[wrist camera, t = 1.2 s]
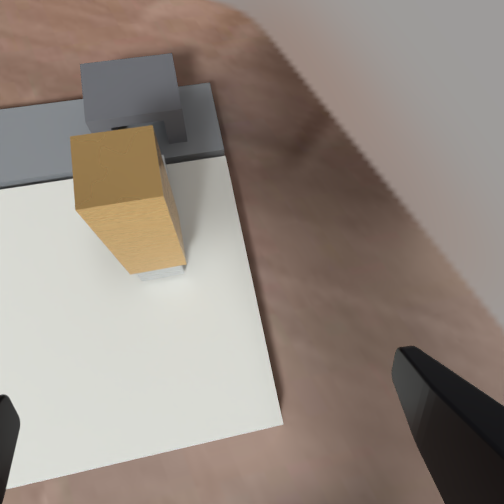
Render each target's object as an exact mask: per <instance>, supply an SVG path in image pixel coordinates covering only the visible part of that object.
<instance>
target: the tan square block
mask: <svg viewBox="0 0 504 504" xmlns="http://www.w3.org/2000/svg"><path fill="white" fill-rule="evenodd" d="M70 145H71V158H72V172H73V185H74V199H75V210H76V211H77V213H78V214H79V215H80V216H81V217H82V219H83V220H84V221H85V222H86V223H87V224H88V226H89V227H90V228H91V229H92V230H93V231H94V233H95V234H96V235H97V236H98V237H99V238H100V240H101V241H102V242H103V243H104V244H105V246H106V247H107V248H108V249H109V250H110V251H111V253H112V254H113V255H114V256H115V257H116V258H117V260H118V261H119V262H120V263H121V264H122V265H123V267H124V268H125V269H126V270H127V271H128V272H129V274H130V275H131V274H137V275H138V277H139V278H140V279H141V280H142V281H147V280H153V279H158V278H164V277H169V276H175V275H180V274H184V268H183V265H187V263H186V257H185V251H184V245H183V239H182V233H181V226H180V220H179V214H178V211H177V207H176V204H175V200H174V197H173V194H172V190H171V187H170V181H169V175H168V169H167V165H166V162H165V158H164V155H161V152H160V149H159V145H158V142H157V138H156V135H155V131H154V128H153V125H149V126H142V127H135V128H127V129H120V130H113V131H106V132H98V133H91V134H84V135H77V136H70Z"/></svg>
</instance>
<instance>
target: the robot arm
mask: <svg viewBox="0 0 504 504" xmlns="http://www.w3.org/2000/svg"><path fill="white" fill-rule="evenodd" d="M392 380H393V383H394V386H395V388H396V391H397V394H398V397H399V399H400V402H401V405H402V408H403V410H404V413H405V416H406V419H407V421H408V424H409V427H410V430H411V432H412V435H413V438H414V440H415V442H416V445H417V447H418V449H419V451H420V453H421V455H422V457H423V459H424V461H425V464H426V466H427V468H428V470H429V472H430V474H431V476H432V478H433V480H434V482H435V484H436V486H437V488H438V490H439V492H440V494H441V497H442V499H443V501H444V503H445V504H504V406H503V405H501V404H500V403H498V402H497V401H495V400H494V399H492V398H491V397H490V396H488V395H487V394H485V393H484V392H482V391H481V390H479V389H478V388H476V387H475V386H473V385H472V384H470V383H469V382H467V381H466V380H464V379H463V378H461V377H460V376H458V375H457V374H456V373H454V372H453V371H451V370H450V369H448V368H447V367H445V366H444V365H442V364H441V363H439V362H438V361H436V360H435V359H433V358H432V357H430V356H429V355H427V354H426V353H424V352H423V351H422V350H420V349H419V348H417V347H415V346H406V347H399V348H397V350H396V352H395V357H394V362H393V367H392ZM19 430H20V418H19V415H18V413H17V411H16V409H15V407H14V406H13V404H12V402H11V400H10V398H9V396H7V395H6V394H1V395H0V504H2V502H3V498H4V495H5V491H6V487H7V483H8V478H9V474H10V470H11V465H12V461H13V456H14V452H15V448H16V443H17V439H18V435H19Z"/></svg>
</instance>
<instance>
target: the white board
mask: <svg viewBox="0 0 504 504" xmlns="http://www.w3.org/2000/svg"><path fill="white" fill-rule="evenodd" d="M80 69H81V81H82V92H83V99H78V100H71V101H63V102H55V103H47V104H39V105H32V106H24V107H16V108H8V109H0V395H1V394H6V395H7V396H9V398H10V400H11V402H12V404H13V406H14V407H15V409H16V411H17V413H18V415H19V418H20V430H19V435H18V439H17V443H16V448H15V452H14V456H13V461H12V465H11V470H10V474H9V478H8V483H7V487H6V489H10V488H14V487H18V486H22V485H27V484H31V483H35V482H39V481H44V480H48V479H52V478H57V477H61V476H65V475H69V474H74V473H78V472H82V471H86V470H91V469H95V468H99V467H104V466H108V465H112V464H116V463H121V462H125V461H129V460H133V459H138V458H142V457H146V456H151V455H155V454H159V453H163V452H168V451H172V450H176V449H181V448H185V447H189V446H193V445H198V444H202V443H206V442H210V441H215V440H219V439H223V438H228V437H232V436H236V435H240V434H245V433H249V432H253V431H257V430H262V429H266V428H270V427H275V426H279V425H283V420H282V416H281V411H280V406H279V402H278V397H277V393H276V388H275V383H274V379H273V374H272V369H271V365H270V360H269V355H268V351H267V346H266V342H265V337H264V332H263V328H262V323H261V318H260V314H259V309H258V304H257V300H256V295H255V290H254V286H253V281H252V277H251V272H250V267H249V263H248V258H247V253H246V249H245V244H244V239H243V235H242V230H241V226H240V221H239V216H238V212H237V207H236V202H235V198H234V193H233V188H232V184H231V179H230V174H229V170H228V165H227V161H226V156H224V147H223V142H222V137H221V133H220V128H219V123H218V119H217V114H216V109H215V105H214V100H213V96H212V91H211V86H210V83H203V84H195V85H188V86H180V87H178V84H177V78H176V73H175V67H174V62H173V57H172V53H170V54H162V55H153V56H145V57H136V58H128V59H119V60H111V61H102V62H94V63H85V64H80ZM149 125H153V128H154V131H155V135H156V138H157V142H158V145H159V149H160V152H161V155H164V158H165V162H166V165H167V169H168V175H169V181H170V187H171V190H172V194H173V197H174V200H175V204H176V207H177V211H178V214H179V220H180V226H181V233H182V239H183V245H184V251H185V257H186V263H187V265H183V268H184V274H180V275H175V276H169V277H164V278H158V279H153V280H147V281H142V280H141V279H140V278H139V277H138V275H137V274H131V275H130V274H129V272H128V271H127V270H126V269H125V268H124V267H123V265H122V264H121V263H120V262H119V261H118V260H117V258H116V257H115V256H114V255H113V254H112V253H111V251H110V250H109V249H108V248H107V247H106V246H105V244H104V243H103V242H102V241H101V240H100V238H99V237H98V236H97V235H96V234H95V233H94V231H93V230H92V229H91V228H90V227H89V226H88V224H87V223H86V222H85V221H84V220H83V219H82V217H81V216H80V215H79V214H78V213H77V211H76V210H75V199H74V185H73V172H72V158H71V145H70V136H77V135H84V134H91V133H98V132H106V131H113V130H120V129H127V128H135V127H142V126H149Z"/></svg>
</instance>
